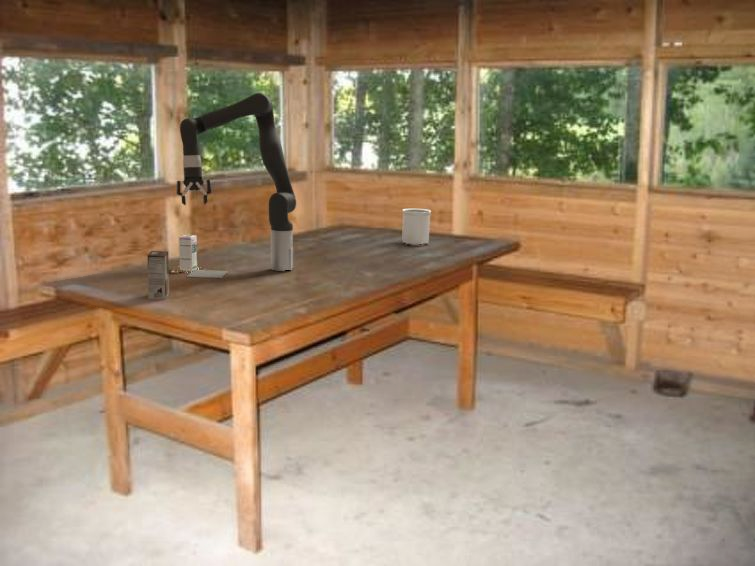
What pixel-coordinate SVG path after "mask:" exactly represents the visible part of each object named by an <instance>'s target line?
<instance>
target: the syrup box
mask: <svg viewBox="0 0 755 566" xmlns="http://www.w3.org/2000/svg"><path fill="white" fill-rule="evenodd" d="M197 238H198V235H196V234H183V235H181V236H178V252H179V253H178V255H179V267H180V270H183V271H193V270H195V269H197V268H198V239H197Z"/></svg>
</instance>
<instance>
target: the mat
mask: <svg viewBox="0 0 755 566" xmlns="http://www.w3.org/2000/svg"><path fill="white" fill-rule="evenodd" d="M228 272H229V271H228V270H214V269H213V270H211V269H210V270H209V269H204V270H194V271H193V272H191V273H188V274H187V275H186V278H191V279H192V278H195V279H196V278H199V279H217V278H220V280H221V279H222V278H223V277H225V275H226V273H227V274H228Z"/></svg>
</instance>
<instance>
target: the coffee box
mask: <svg viewBox="0 0 755 566" xmlns="http://www.w3.org/2000/svg"><path fill="white" fill-rule="evenodd" d="M169 265H170V264H169V251H162V250H151V251H150V252H149V253H148V255H147V294H148V296H147V297H148V300H166V299H167V298H168V296H169V294H170V267H169Z"/></svg>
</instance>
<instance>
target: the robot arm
mask: <svg viewBox="0 0 755 566" xmlns="http://www.w3.org/2000/svg"><path fill="white" fill-rule="evenodd" d="M253 115H254V118H255V120H256V121H255V122H256V123H257V128H258V134H259V135H258V136H259V138H258V141H259V145H258V146H259V151H260V152H259V153H260V156H261V160H262V163H263V166H264V168H265V169H266V171H267V172H268V174H269V175H270V177H271V178H272V180H273V183H274V185H275V189H276V192H275V193H273V194H271V196H270V197H269V200H268V221H269V225H270V270H272V271H274V270H275V272H286V271H285V270H291V271H292V270H293V269H294V246H293V237H294V235H293V233H294V230H293V229H294V227H293V223H292V222H291V221H289V214H290V213H292V212H294V211H295V210H296V207H297V199H296V198H297V197H296V195H295V191H294V189H293V186H292V183H291V181H290V177H289V171H288V168H287V164H286V161H285V160H286V159H285V154H284V150H283V147H282V143H281V140H280V136H279V133H278V130H277V127H276V122H275V115H274V106H273V102H272V99H271V98H270V97H269V96H268V95H267V94H265V93H262V92H256V93H254V94H251V95H249V96H248V97H246V98H244V99H242V100H240V101H238V102H236V103H234V104H233V103H232V104H230V105H228V106H223V107H221V108H217V109H214V110H211V111H209V112H205V113H203V114H202V115H200V116H198V117H197V116H196V117H195V118H183V120H181V122H180V124H179V133H180V134H179V135H180V139H181V142H182V155H183V156H182V157H183V158H182V163H183V165H182V166H183V180H177V181H176V195H178V196H181V204H182V205H183V206H186V205H187V201H186V195H187V193H188V191H200V192H201V194H203V196H202V199H203V205H207V203H208V195H210V194H212V187H211V180H210V179H204V180H203V170H202V169H203V167H202V166H203V164H202V158H201V147H200V143H199V142H198V135H200V134H202V133H204V132H207V131H209V130H215V129H217V128H219V127H223V126H225V125H228V124H229V123H232V122H233V121H235V120H239V119H240V118H243V117H249V116H253ZM203 184H204V185H205V186H206V190H205V189H204V188H203ZM183 185H184V186H185V188H184V189H183V190H182V192H181V187H182V186H183ZM292 268H293V269H292Z"/></svg>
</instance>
